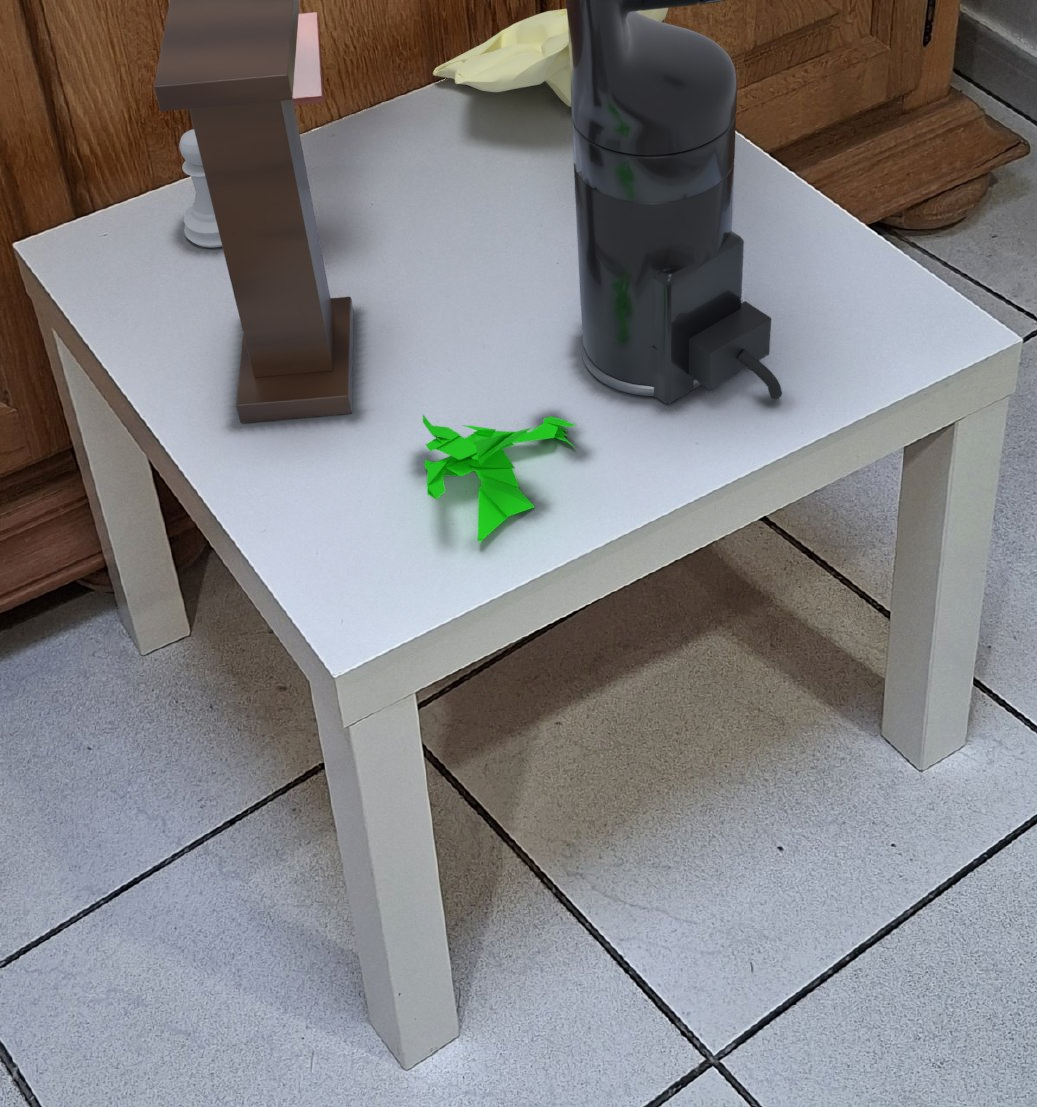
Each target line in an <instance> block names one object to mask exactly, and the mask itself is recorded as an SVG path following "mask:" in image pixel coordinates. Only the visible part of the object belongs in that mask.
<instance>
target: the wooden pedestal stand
mask: <svg viewBox="0 0 1037 1107" xmlns="http://www.w3.org/2000/svg"><path fill="white" fill-rule="evenodd" d="M299 13H300V2H299V0H169V4H168V9H167V13H166V14H167V15H166V20H165V25H164V31H163V36H162V41H161V46H160V52H159V58H158V63H157V69H156V75H155V80H154V85H153V89H154V93H155V97H156V101H157V105H158V108H159V111H160V112H169V111H170V112H171V111H181V110H182V111H183V110H189V115H190V119H191V124H192V127H193V128H192V129H194V132H195V136H196V140H197V144H198V148H199V152H200V156H201V161H202V165H203V169H204V173H205V177H206V181H207V185H208V189H209V194H210V198H211V202H212V206H213V210H214V214H215V218H216V222H217V226H218V231H219V235H220V239H221V243H222V247H221V248H222V251H223V254H224V255H223V256H224V260H225V263H226V264H225V265H226V267H227V272H228V276H229V279H230V284H231V288H232V293H233V296H234V301H235V304H236V308H237V313H238V316H239V321H240V325H241V329H242V330H241V331H242V340H241V341H242V342H241V350H240V361H239V372H238V381H237V392H236V403H235V408H236V411H237V416H238V418H239V422H240V424H246V423H257V422H269V421H281V420H291V419H292V420H293V419H302V418H304V419H305V418H315V417H316V418H317V417H327V416H336V415H337V416H338V415H348V414H352V412H353V376H354V375H353V373H354V372H353V371H354V370H353V369H354V328H355V324H354V323H355V312H354V306H353V301H352V300H353V299H352V297H351V296H341V297H340V296H339V297H331V294H330V288H329V282H328V277H327V271H326V266H325V261H324V256H323V251H322V245H321V241H320V240H321V239H320V235H319V229H318V224H317V219H316V213H315V208H314V203H313V197H312V192H311V188H310V181H309V176H308V171H307V166H306V161H305V155H304V149H303V145H302V140H301V134H300V130H299V129H300V128H299V124H298V123H299V122H298V118H297V113H296V108H295V107H296V106H295V105H294V102H293V84H294V71H295V57H296V44H297V30H298V17H299Z"/></svg>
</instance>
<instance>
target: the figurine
mask: <svg viewBox="0 0 1037 1107" xmlns="http://www.w3.org/2000/svg"><path fill="white" fill-rule="evenodd" d="M542 420H543V423H542V424H540V425H538V426H537V427H535V428H534V426H531V427H529V428H525V429H521V430H517V431H508V430H507V431H506V430H496V429H494V428H488V427H482V426H475V425H464V424H463V425H461V426H463V427H465V428H468V429H471V430H474V432H473V433H471V434H470V435H468V436H466V437H464V436H462V435H461V434H460V433H459V432H457V431H456V430H454V429H452V428H450V427H447V426H440V425H432V423H431V422H430V421H429V420H428V418H427V417H426V416H425V415H424V414H422V424H424V426H425V428H426V429H427V431H428V432H430V434H431V436H433V437H434V439H433V440H431V441H429V442H427V443H425V446H426V448H427V449H428V451H429V452H433V451H435V450H437V451H439V452H441V453H444V454H446V455H448V456H447V457H445V458H442V459H440V460H437V461H435V462H433V461H431V460H428V459H425V458H424V468H425V470H426V471H427V473H426V495H427V496H429V497H431V498H433V499H435V500H438V499H439V498H440V497H441V496H442V495H443V494H445V493H446V488H445V481H444V478H445V476H448V477H463V476H466V475H467V474H470V473H472V472H475V474H476V475H477V477H478V479H479V480H480V482H481V484H480V486H478V508H477V511H478V512H477V542H479V543H482V541H483V540H484V539H485V538H486V537H487V536H489V535H490V534H491V533H492V532H494V530H496V529H497V528H498V527H499V526H500V525H501V524H502V523H504V522H505V521H506V520H507V519H508V518H509V517H511V516H514V515H516V514H519V513H522V512H524V511H527V510H531V509H533V508H535V505H534V504H533V503H532V502H531V501H530V500H529V499H528V498H527V496H526V495H524V493H523V492H522V491H521V490H520V489H519V488H520V484H519V481H518V479H517V477H516V474H515V471H514V469H515V466H514V465H513V463H512V462H511V459H510V458H509V456H508V455H507V453H506V452H505V450H504V449H507V448H509V447H512V446H515V444H517V443H526V442H533V441H540V440H541V441H542V440H548V439H557V440H560V441H562V442H565V443H568V444H569V445H570V446H572V447H573V448H575V445H573V444H572V443H571V442H570V441H569V440H568V439H567V438H566V437H568V434H567V433H566V432H568V430H567V429H566V428H571V427H575V426H576V427H577V426H578V424H575V423H571V422H568V420H566V419H562V418H559V417H555V416H547V417H545V418H543V419H542ZM564 427H566V428H564ZM530 430H531V431H530Z"/></svg>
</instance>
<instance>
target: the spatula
mask: <svg viewBox="0 0 1037 1107" xmlns="http://www.w3.org/2000/svg"><path fill="white" fill-rule="evenodd" d="M321 40H322V39H321V24H320V16H319V12H318V11H311V12H310V11H309V12H299V17H298V30H297V44H296V57H295V71H294V84H293V102H294V106H299V105H300V106H301V105H312V104H321V103H325V90H324V89H325V88H324V75H323V74H324V73H323V58H322V41H321Z"/></svg>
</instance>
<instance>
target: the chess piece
mask: <svg viewBox="0 0 1037 1107" xmlns="http://www.w3.org/2000/svg"><path fill="white" fill-rule="evenodd" d="M178 144H179V146H178V149H179V151H180V154H181V156H182V157H183V159H184V160H185V161H184V162H183V163H182V166H181V168H182V171H183V173H185V175H188V176H190V177H191V180H192V183H193V187H194V190H195V197H194V202H193V203H192V205H191V206H190V207H189V208H188V209H187V210H186V211H185V213H184V215H183V222H184V230H183V232H184V235H185V237H186V238H187V239H188V240H189V241H190V242H192V243H193V244H195V245H197V246H199V247H202V248H210V249H212V248H223V247H222V243H221V239H220V235H219V231H218V226H217V222H216V218H215V214H214V210H213V206H212V202H211V198H210V194H209V189H208V185H207V181H206V177H205V173H204V169H203V165H202V161H201V156H200V152H199V148H198V144H197V140H196V136H195V132H194V128H192V129H189V130H188V131H186V132H184V133H183V134H182V135H181V137H180V140H179V143H178Z"/></svg>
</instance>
